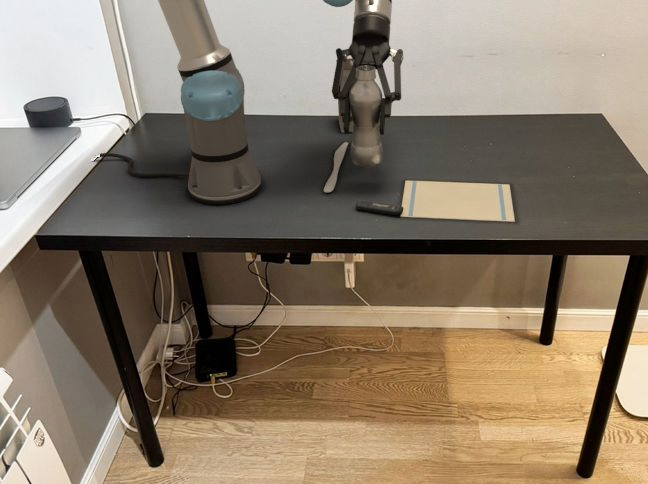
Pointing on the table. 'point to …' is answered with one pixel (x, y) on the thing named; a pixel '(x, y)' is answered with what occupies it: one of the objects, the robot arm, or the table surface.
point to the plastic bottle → (366, 118)
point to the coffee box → (347, 70)
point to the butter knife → (335, 167)
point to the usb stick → (379, 207)
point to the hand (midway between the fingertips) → (363, 131)
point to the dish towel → (457, 201)
